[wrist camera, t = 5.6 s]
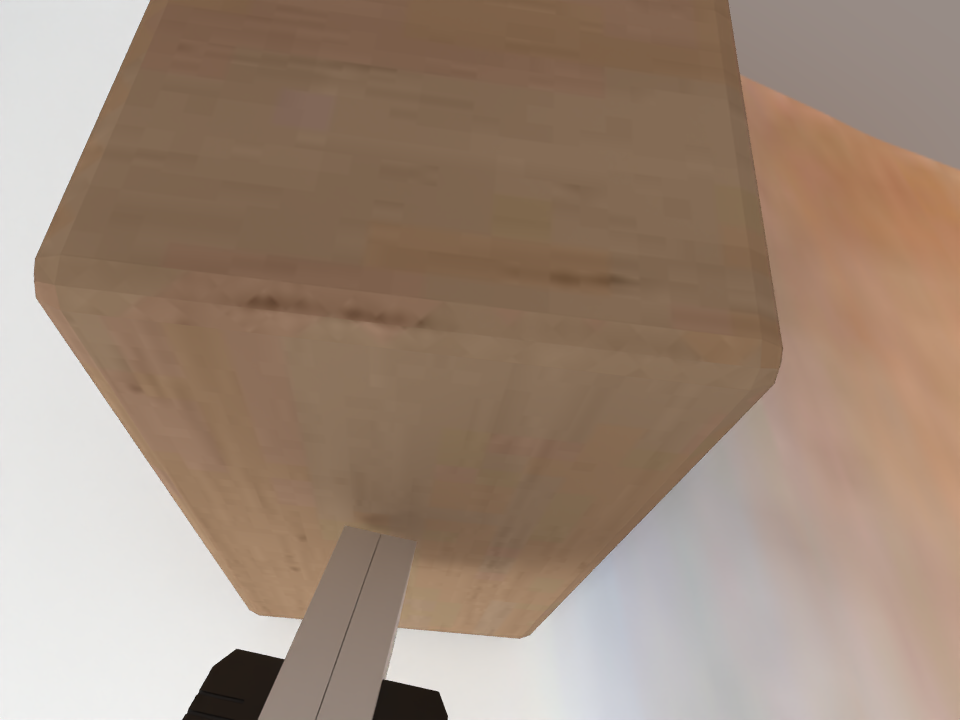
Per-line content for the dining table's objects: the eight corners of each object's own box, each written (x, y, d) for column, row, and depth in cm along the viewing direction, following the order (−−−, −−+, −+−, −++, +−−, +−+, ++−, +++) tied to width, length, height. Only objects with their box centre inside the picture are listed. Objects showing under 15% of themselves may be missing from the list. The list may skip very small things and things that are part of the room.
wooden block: (299, 366, 31) (206, -156, 14) (538, 393, 32) (727, -72, 15) (246, 616, 26) (3, 283, 9) (531, 642, 27) (804, 377, 10)
